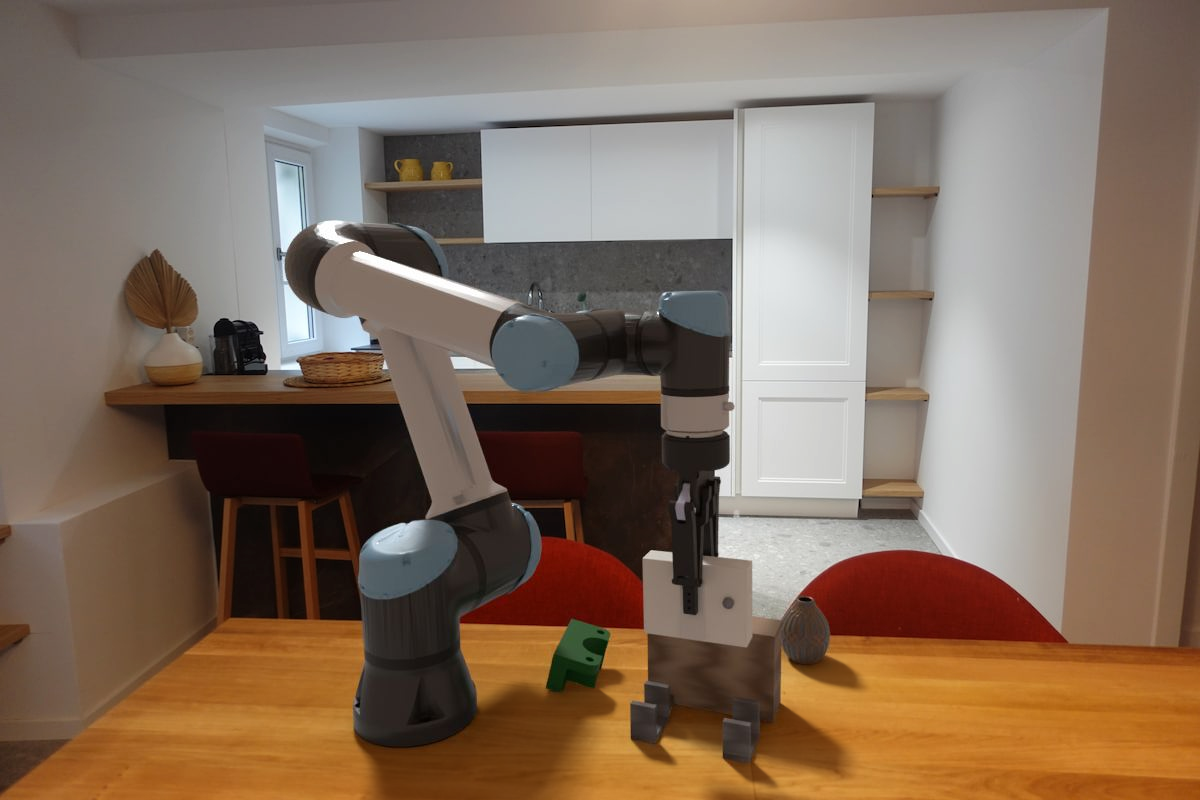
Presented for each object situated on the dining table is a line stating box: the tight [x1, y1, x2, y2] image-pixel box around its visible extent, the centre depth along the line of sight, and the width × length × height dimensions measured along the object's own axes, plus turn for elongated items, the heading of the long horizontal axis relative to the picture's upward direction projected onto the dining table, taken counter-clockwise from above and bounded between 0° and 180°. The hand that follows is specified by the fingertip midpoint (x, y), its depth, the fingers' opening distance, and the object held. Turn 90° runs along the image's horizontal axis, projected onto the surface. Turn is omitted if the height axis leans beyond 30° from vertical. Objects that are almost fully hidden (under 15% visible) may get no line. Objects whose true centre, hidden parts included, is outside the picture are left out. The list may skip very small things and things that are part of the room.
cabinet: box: [629, 615, 782, 764], centre depth 98 cm, size 16×14×11 cm
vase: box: [781, 595, 831, 665], centre depth 114 cm, size 7×7×9 cm
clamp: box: [545, 618, 611, 694], centre depth 110 cm, size 12×6×9 cm, turn 164°
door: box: [642, 549, 753, 647], centre depth 92 cm, size 12×4×9 cm, turn 68°
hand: (697, 631), depth 93 cm, fingers closed on door, 3 cm apart
